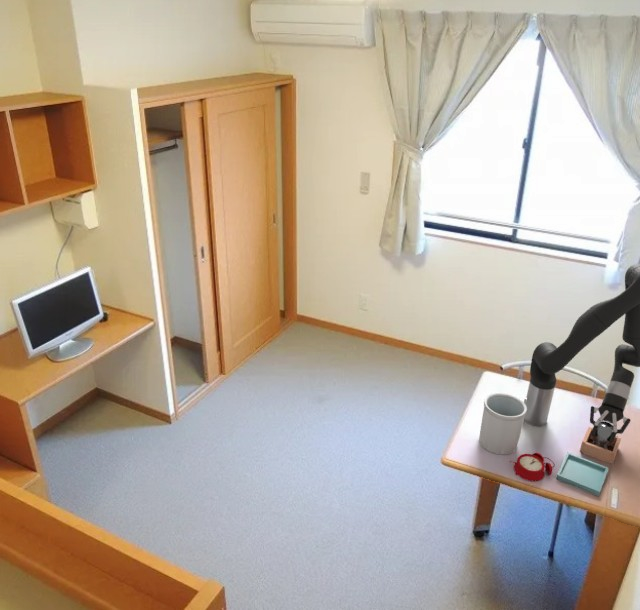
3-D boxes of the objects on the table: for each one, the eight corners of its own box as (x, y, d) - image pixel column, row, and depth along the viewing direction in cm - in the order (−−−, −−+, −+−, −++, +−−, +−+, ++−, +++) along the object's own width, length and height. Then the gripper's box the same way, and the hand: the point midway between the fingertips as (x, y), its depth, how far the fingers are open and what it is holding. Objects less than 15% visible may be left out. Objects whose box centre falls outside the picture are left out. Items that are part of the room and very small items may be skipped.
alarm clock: (506, 457, 208) (542, 441, 211) (507, 469, 211) (542, 454, 214) (524, 477, 199) (562, 460, 202) (524, 490, 202) (561, 473, 205)
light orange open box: (579, 451, 216) (581, 442, 214) (586, 435, 225) (589, 426, 223) (612, 464, 211) (615, 454, 208) (618, 447, 219) (621, 437, 217)
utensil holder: (484, 424, 229) (491, 387, 221) (522, 438, 223) (531, 400, 215) (472, 446, 218) (479, 408, 210) (512, 461, 211) (521, 422, 203)
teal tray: (555, 478, 204) (556, 474, 203) (566, 456, 214) (567, 452, 213) (598, 496, 197) (600, 492, 196) (607, 472, 207) (608, 467, 206)
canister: (590, 450, 217) (597, 426, 212) (593, 443, 221) (600, 419, 216) (604, 455, 214) (612, 432, 209) (607, 448, 218) (614, 424, 213)
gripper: (595, 386, 217) (581, 429, 214) (638, 400, 210) (623, 445, 207) (595, 391, 223) (581, 433, 220) (637, 405, 216) (622, 448, 213)
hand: (601, 439), depth 213 cm, fingers closed on canister, 5 cm apart
